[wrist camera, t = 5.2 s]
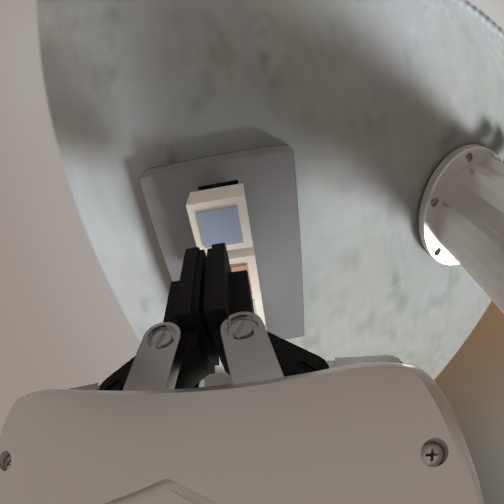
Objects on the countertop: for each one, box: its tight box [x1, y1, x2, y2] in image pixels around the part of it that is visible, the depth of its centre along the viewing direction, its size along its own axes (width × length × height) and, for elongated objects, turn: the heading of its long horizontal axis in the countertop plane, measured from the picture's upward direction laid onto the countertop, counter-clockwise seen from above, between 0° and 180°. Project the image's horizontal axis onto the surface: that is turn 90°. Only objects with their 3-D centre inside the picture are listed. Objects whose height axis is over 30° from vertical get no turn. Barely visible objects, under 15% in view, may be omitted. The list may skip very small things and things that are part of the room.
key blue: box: [186, 183, 253, 254], centre depth 18 cm, size 3×3×4 cm
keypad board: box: [139, 145, 304, 339], centre depth 23 cm, size 17×10×2 cm, turn 8°
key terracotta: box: [206, 241, 261, 297], centre depth 20 cm, size 3×3×4 cm
